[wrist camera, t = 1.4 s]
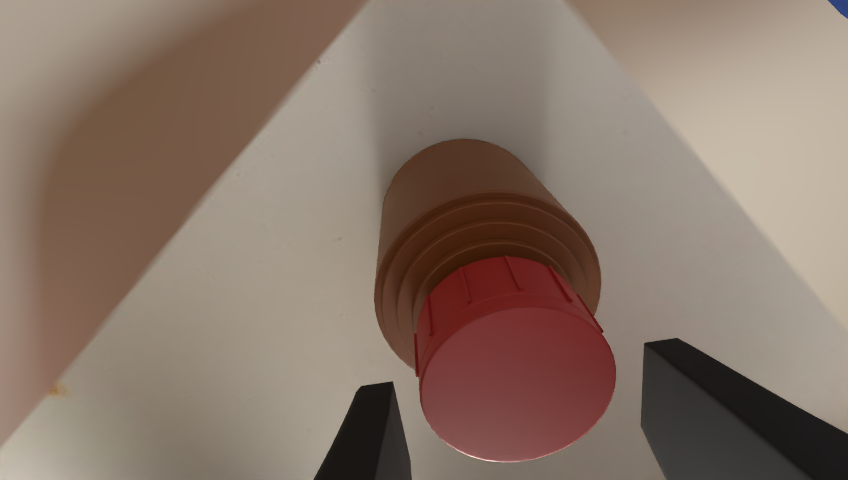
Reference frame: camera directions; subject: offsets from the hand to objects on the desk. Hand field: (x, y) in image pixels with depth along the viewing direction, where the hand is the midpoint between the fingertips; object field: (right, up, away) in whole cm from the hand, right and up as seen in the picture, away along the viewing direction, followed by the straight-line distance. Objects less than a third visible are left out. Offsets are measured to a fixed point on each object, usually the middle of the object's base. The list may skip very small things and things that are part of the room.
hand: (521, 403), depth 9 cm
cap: (0, 0, +1) cm, 1 cm away
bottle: (0, +4, +9) cm, 10 cm away
